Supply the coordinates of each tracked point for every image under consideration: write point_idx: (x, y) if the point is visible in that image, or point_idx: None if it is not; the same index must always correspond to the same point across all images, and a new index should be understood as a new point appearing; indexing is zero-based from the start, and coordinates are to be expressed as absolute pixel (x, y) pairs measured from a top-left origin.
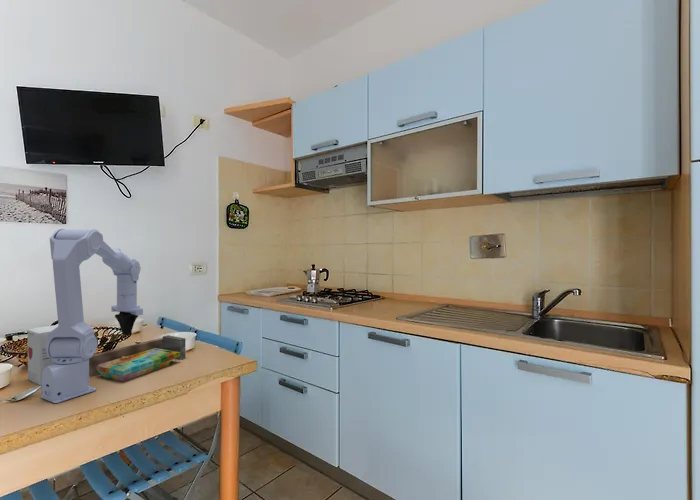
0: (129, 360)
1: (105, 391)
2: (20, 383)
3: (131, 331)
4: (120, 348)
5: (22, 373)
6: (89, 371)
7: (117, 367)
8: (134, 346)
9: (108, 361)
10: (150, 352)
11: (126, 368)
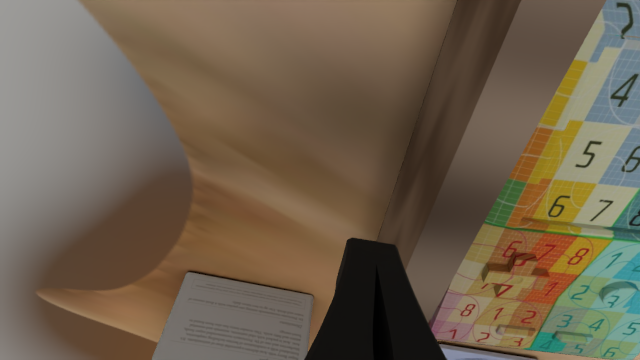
0: (567, 288)
1: (577, 356)
2: None
3: (403, 266)
4: (418, 270)
5: (90, 309)
6: None
7: (569, 350)
8: (489, 211)
9: (441, 308)
10: (606, 114)
11: (632, 353)
